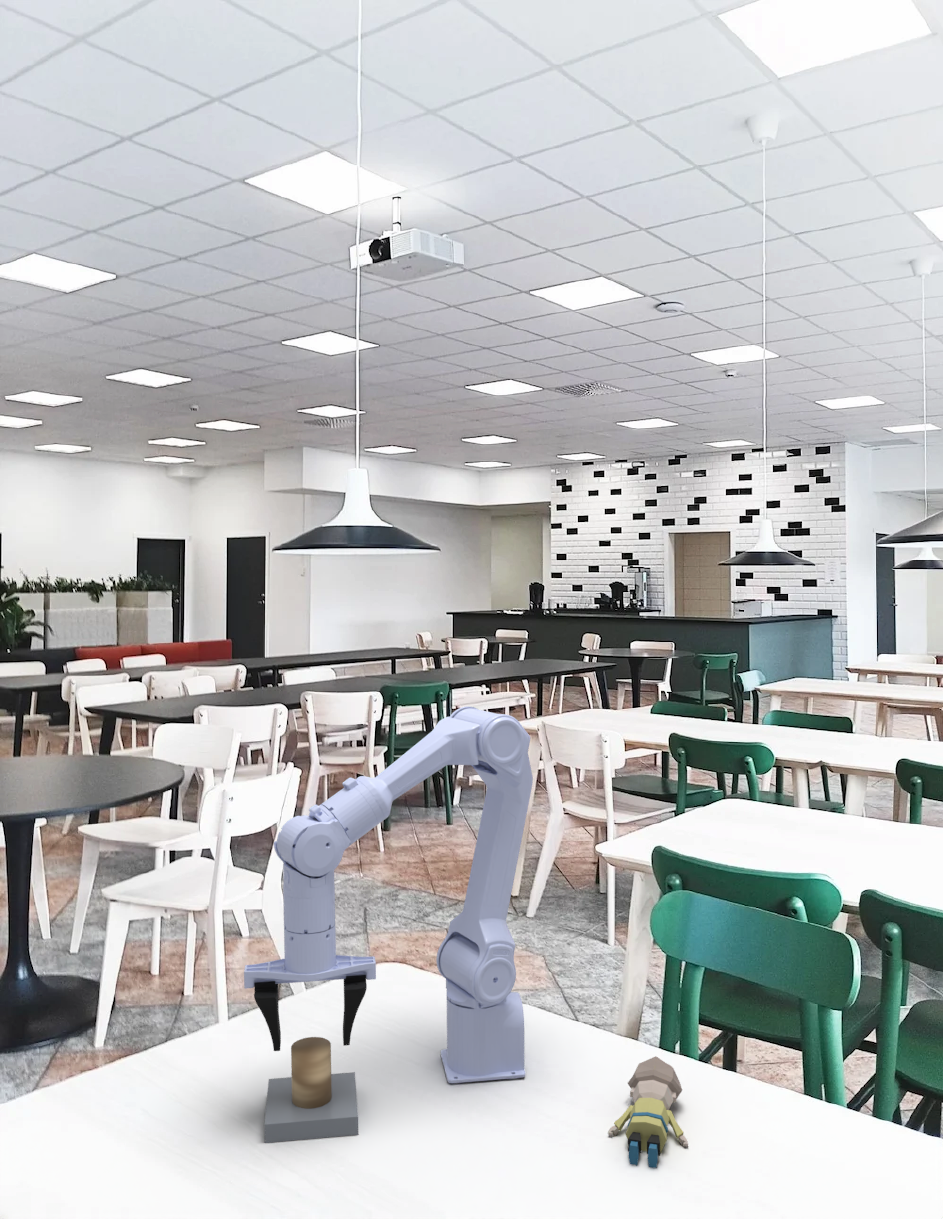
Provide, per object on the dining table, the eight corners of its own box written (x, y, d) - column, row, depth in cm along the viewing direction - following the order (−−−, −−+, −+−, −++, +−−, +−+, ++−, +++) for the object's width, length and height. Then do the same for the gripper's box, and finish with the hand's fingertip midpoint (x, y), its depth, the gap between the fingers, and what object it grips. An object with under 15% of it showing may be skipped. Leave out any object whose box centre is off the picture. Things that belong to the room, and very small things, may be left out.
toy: (685, 1181, 104) (694, 1099, 118) (685, 1130, 103) (694, 1055, 118) (602, 1168, 106) (620, 1090, 121) (601, 1119, 106) (620, 1046, 120)
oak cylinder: (335, 1089, 117) (334, 1037, 117) (326, 1109, 113) (325, 1055, 112) (298, 1087, 117) (297, 1036, 117) (287, 1107, 113) (286, 1054, 113)
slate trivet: (355, 1088, 121) (354, 1072, 121) (358, 1134, 111) (358, 1116, 111) (269, 1095, 120) (268, 1078, 119) (264, 1142, 110) (264, 1124, 110)
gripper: (372, 909, 120) (374, 1023, 120) (246, 917, 117) (248, 1033, 118) (376, 930, 113) (378, 1051, 113) (241, 939, 110) (244, 1062, 111)
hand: (311, 1044), depth 115 cm, fingers open, 7 cm apart
